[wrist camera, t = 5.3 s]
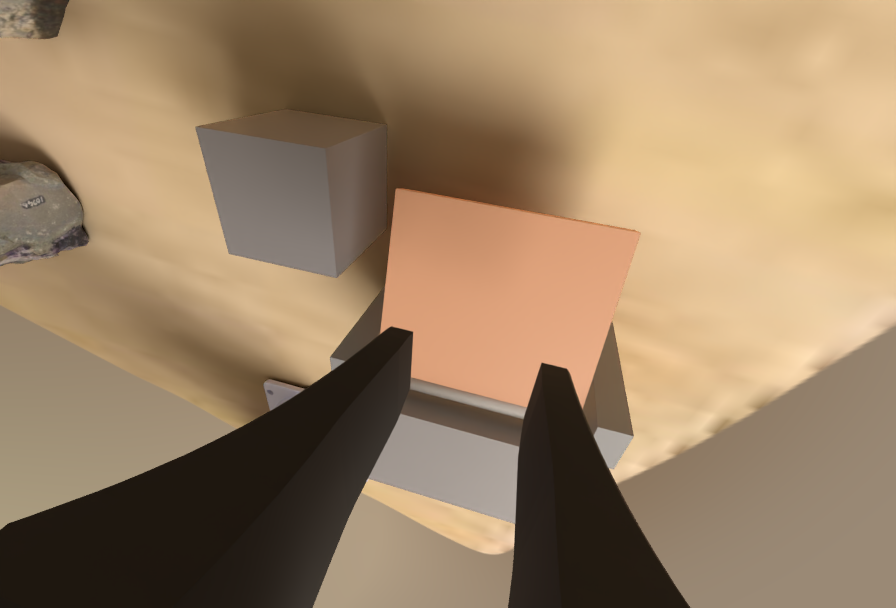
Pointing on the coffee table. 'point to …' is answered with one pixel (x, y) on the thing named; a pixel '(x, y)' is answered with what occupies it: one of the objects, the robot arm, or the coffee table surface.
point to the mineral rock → (36, 214)
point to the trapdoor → (488, 335)
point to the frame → (601, 404)
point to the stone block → (31, 18)
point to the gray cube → (298, 187)
